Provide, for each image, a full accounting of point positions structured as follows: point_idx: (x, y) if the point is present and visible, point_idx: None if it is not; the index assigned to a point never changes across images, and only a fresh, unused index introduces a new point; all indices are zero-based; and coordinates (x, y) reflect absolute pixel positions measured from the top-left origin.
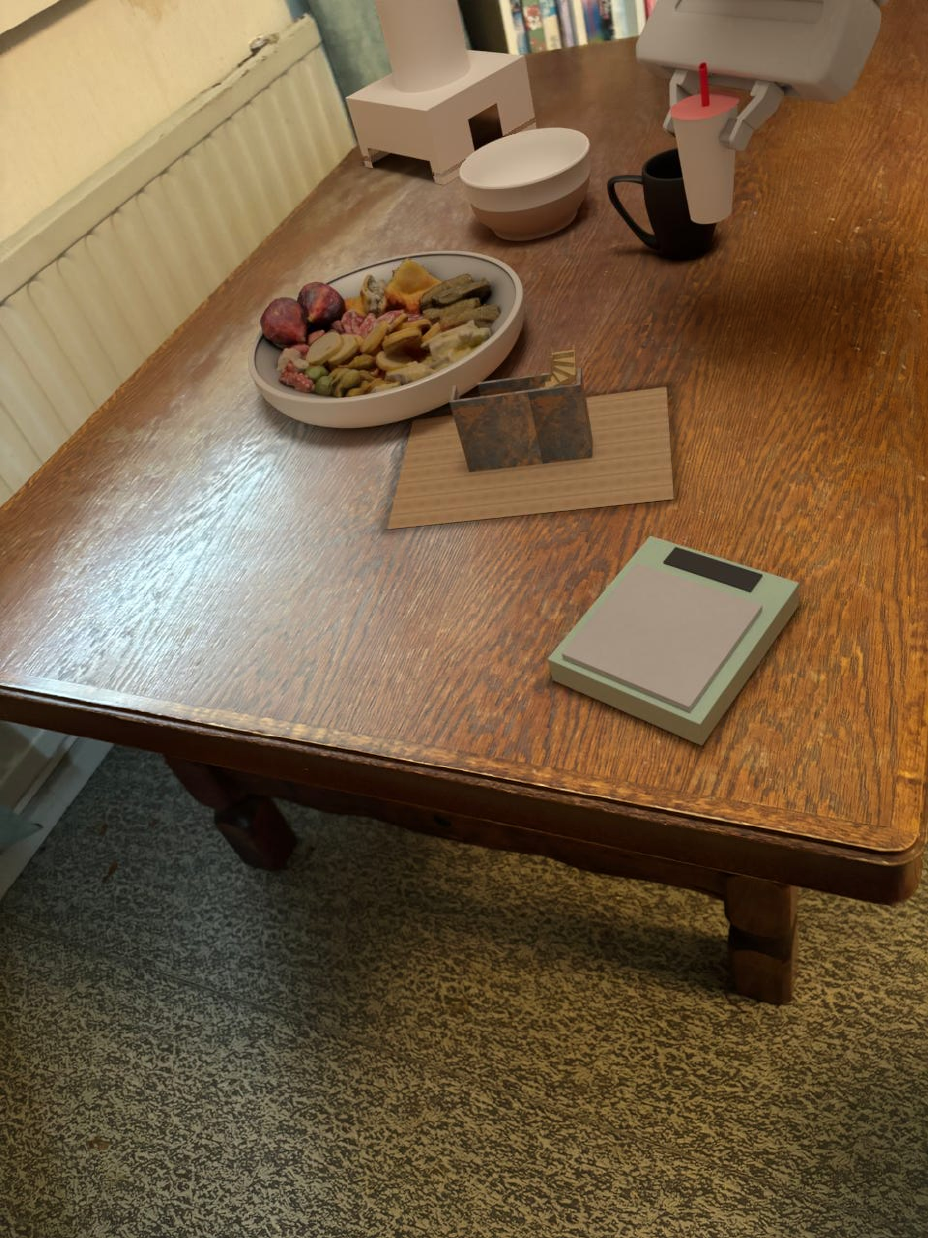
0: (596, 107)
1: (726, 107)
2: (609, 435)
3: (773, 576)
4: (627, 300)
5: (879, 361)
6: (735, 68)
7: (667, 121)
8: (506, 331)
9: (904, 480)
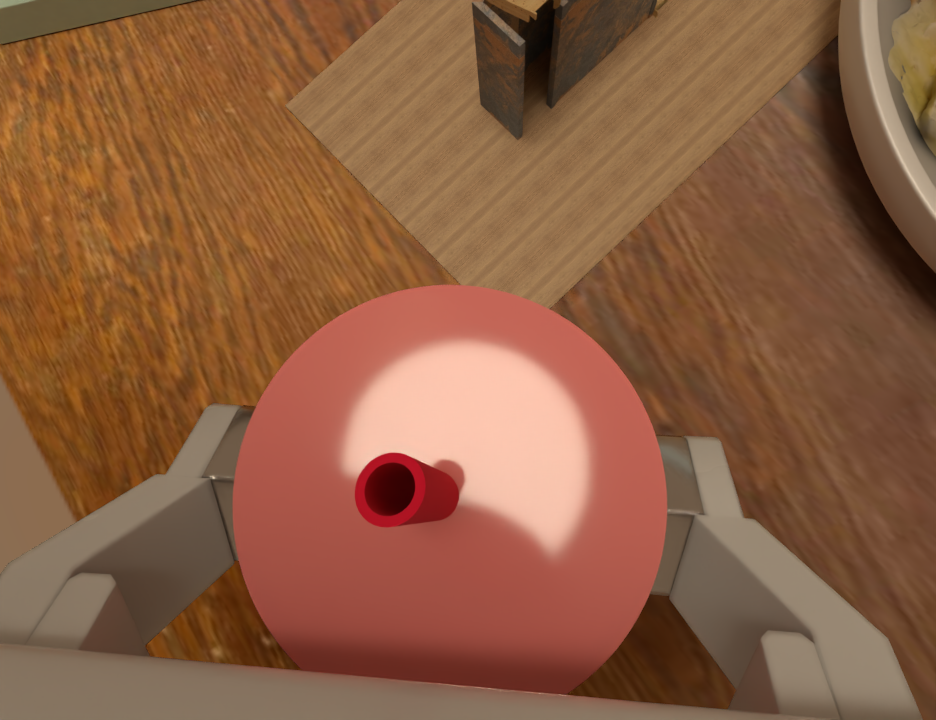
0: None
1: (271, 494)
2: (500, 166)
3: (1, 3)
4: (854, 568)
5: (208, 622)
6: (210, 675)
7: (702, 455)
8: (890, 156)
9: (7, 342)
